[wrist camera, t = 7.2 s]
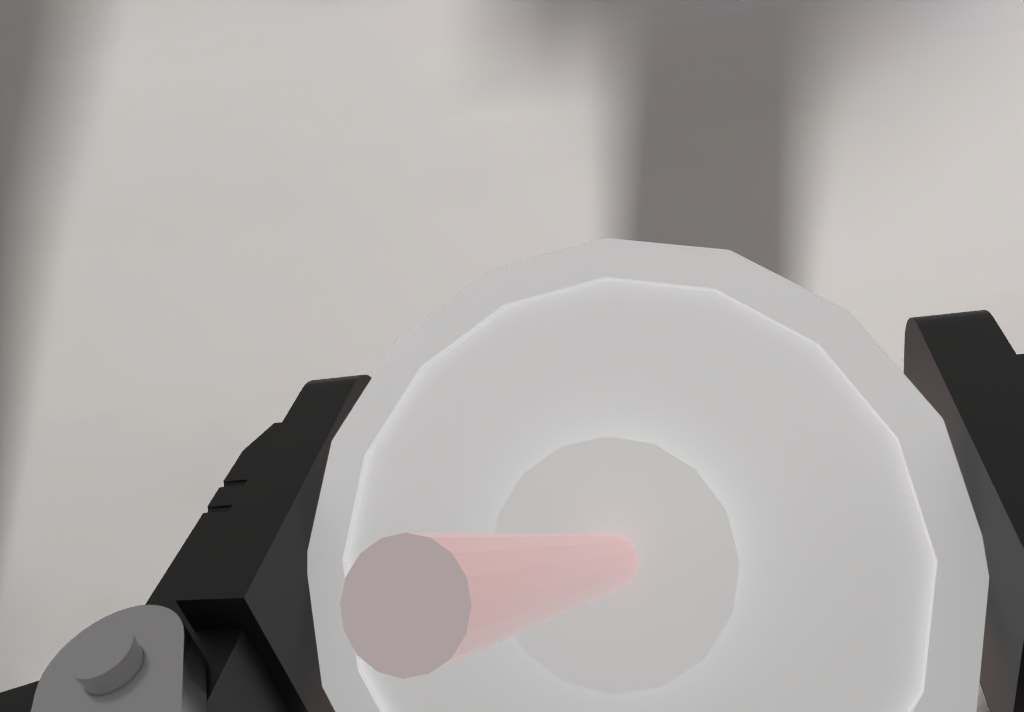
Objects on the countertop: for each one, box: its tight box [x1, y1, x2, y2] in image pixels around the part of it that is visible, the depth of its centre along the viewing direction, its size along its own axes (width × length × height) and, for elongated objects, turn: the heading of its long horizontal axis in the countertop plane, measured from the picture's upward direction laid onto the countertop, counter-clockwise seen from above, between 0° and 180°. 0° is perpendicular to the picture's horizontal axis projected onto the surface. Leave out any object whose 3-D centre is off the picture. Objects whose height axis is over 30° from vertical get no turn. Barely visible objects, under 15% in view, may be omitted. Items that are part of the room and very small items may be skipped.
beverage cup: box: [307, 238, 989, 712], centre depth 9 cm, size 6×6×14 cm
